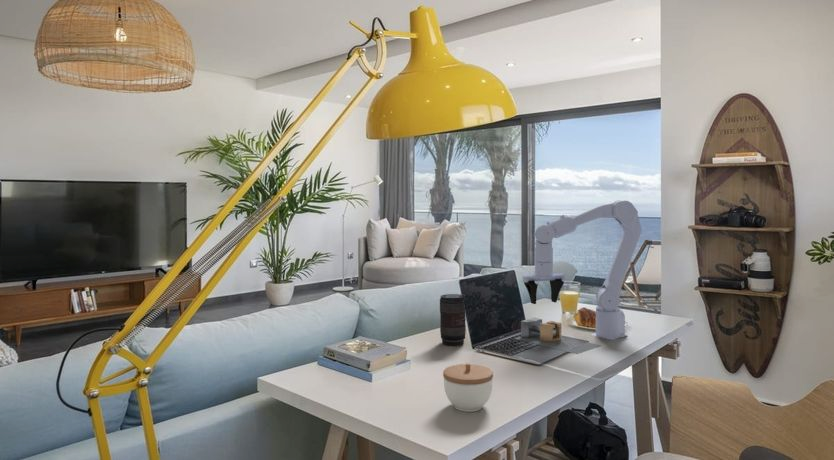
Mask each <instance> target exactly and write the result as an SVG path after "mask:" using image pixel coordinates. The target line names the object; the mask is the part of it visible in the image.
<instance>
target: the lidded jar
mask: <svg viewBox="0 0 834 460" xmlns="http://www.w3.org/2000/svg"><path fill="white" fill-rule="evenodd" d="M442 376H443V387H444V392H445V395H446V397H447V399H448V401H449V402H450V403H451V404H452V405H453V406H454V409H456V410H458V411H460V412H464V413H465V412H466V413H473V412H477V411H480V410H482V409H483V407H484V406H485V405H486V404H487V402H488V401H489V400H490V398H491V395H492V392H493V391H492V390H493V382H494V381H493V379H494V371H493V370H492V369H491V368H489V367H487V366H484V365H480V364H473V363H469V362H468V363H467V362H466V363H464V364H463V363H462V364H460V363H459V364H454V365H451V366H448V367H446V368H444V370H443V375H442Z"/></svg>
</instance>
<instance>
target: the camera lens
mask: <svg viewBox="0 0 834 460" xmlns="http://www.w3.org/2000/svg"><path fill="white" fill-rule="evenodd" d="M462 295H463V294H460V293H459V294H458V293H449V294H448V293H447V294H442V295H440V299H439V313H440V317H439V318H440V320H439V321H440V322H439V323H440V324H439V325H440V326H439V327H440V328H439V329H440V339H441V342H442V344H443V345H445V346H447V347H448V346H449V347H457V346H458V347H459V346H463V345H464V343H465V339H466V334H467V333H466V331H467V328H466V313H465V307H464V303H465V302H463V298H464V297H462ZM464 301H465V300H464Z"/></svg>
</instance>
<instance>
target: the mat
mask: <svg viewBox="0 0 834 460" xmlns="http://www.w3.org/2000/svg"><path fill="white" fill-rule="evenodd" d="M563 337H564V336H561V340H560V341H557V342H554V343H548V342H543V341H540V336H537V337H533V338H530V339H527V338H523V337H521V336H518V337H514V338H513V339H514V340H518V341H523V342H526V343H530V344H535V345H539V346H543V347H547V348H551V349H555V350H558V351H563V352H567V353H570V354H574V355H575V354H576V355H578V354H582V353H583V352H587V351H590V350H593V349H596V348H600V347H602V345H601V344H597V343H593V342H587V341H586V342H587V343H585V344H583V345H580V346H579V347H577V348H575V349H572V350H570V349H569V346H568V345H566V344H565V343H564V342H563V341H564V338H563Z"/></svg>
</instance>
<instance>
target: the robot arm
mask: <svg viewBox="0 0 834 460" xmlns="http://www.w3.org/2000/svg"><path fill="white" fill-rule="evenodd" d="M600 218H608V219H609V218H610V219H612V218H613V219H614V220H615V221H617V222H618V224H619V225H620V227H621V230H622V231H623V234H622V236H621V239H620V242H619V244H618V247H617V249H616V252H615V255H614V258H613V260H612V264H611V266H610V268H609V272H608V274H607V275H606V276H607V277H606V278H605V280H604V281H603V283H602V285H601V287H599V289H598V290H597V291H596V293H595V298H596V300H597V302H598V305H596V306H595V332H594V333H591V334H590V336H593V337H598V338H603V339H608V340H616V339H619V338H625V337H627V336H628V333H626V332H625V331H626V328H625V327H626V326H625V325H626V315H625V313H624V311H623V310H622V309H621V308H620V307H619V306H620V304H621V298H620V295H621V292H622V285H623V282H624V279H625V276H626V275H627V274H626V273H627V271H628V269H629V266H630V263H631V261H632V258H633V256H634V252H635V249H636V247H637V245H638V243H639V239H640V237H641V234H642V226H641V222H640V217H639V212H638V209H637V208H636V207H635V205H634V204H633V203H632V202H631V201H629V200H625V199H623V200H622V199H620V200H615V201H613V202H608V203H604V204H600V205H598V206H595V207H593V208H591V209H589V210H587V211H584V212H582V213H580V214H578V215H575V216H572V215H569V214H567V215H566V214H562V215H560V218H557V219H554V220H552V221H550V220H548V221H546V222H545V223H546V224H541V225H539V226H538V227H537V228H536V229H535V232H534V237H535V239H536V240H535V247H534V274H527V275H522V282H523V284H524V286H525V288H526V291H527V293H528V295H529V300H530V304H533V305H537V291H538V288H539V287H538V286H539V284H538V283H536V282H547V281H548V282H549V284H550V298H551V299H550V300H551V302H552V303H557V302H558V297H559V294H560V292H561V289H562V288H563V286H564V284H565V277H566V274H565V273H554V257H553V256H554V248H553V239H559V238H561V237H563V236H567V235H569V234H572V233H574V232H575V231H576V229H577V228H578V226H580V225H584V224H586V223H589V222H591V221H594V220H597V219H600Z"/></svg>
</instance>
